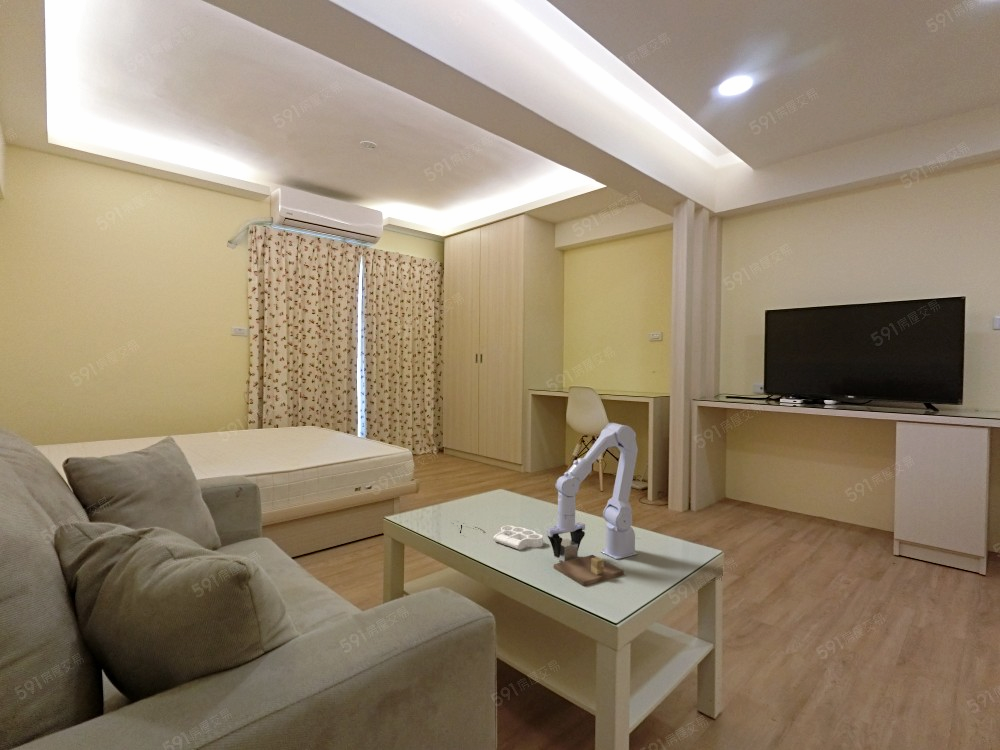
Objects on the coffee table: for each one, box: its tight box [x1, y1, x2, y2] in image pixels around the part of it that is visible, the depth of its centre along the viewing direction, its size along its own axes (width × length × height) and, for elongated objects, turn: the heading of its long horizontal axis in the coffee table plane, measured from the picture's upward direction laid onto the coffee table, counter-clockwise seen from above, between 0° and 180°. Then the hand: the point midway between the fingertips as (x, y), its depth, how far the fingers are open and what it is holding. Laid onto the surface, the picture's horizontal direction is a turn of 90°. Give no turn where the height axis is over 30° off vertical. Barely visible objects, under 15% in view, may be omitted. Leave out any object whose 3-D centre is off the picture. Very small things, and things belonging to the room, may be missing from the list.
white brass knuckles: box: [492, 525, 544, 551], centre depth 170 cm, size 3×18×15 cm
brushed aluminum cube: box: [553, 538, 579, 563], centre depth 155 cm, size 5×5×5 cm
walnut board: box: [553, 554, 625, 587], centre depth 145 cm, size 16×14×5 cm
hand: (565, 554), depth 155 cm, fingers open, 7 cm apart
